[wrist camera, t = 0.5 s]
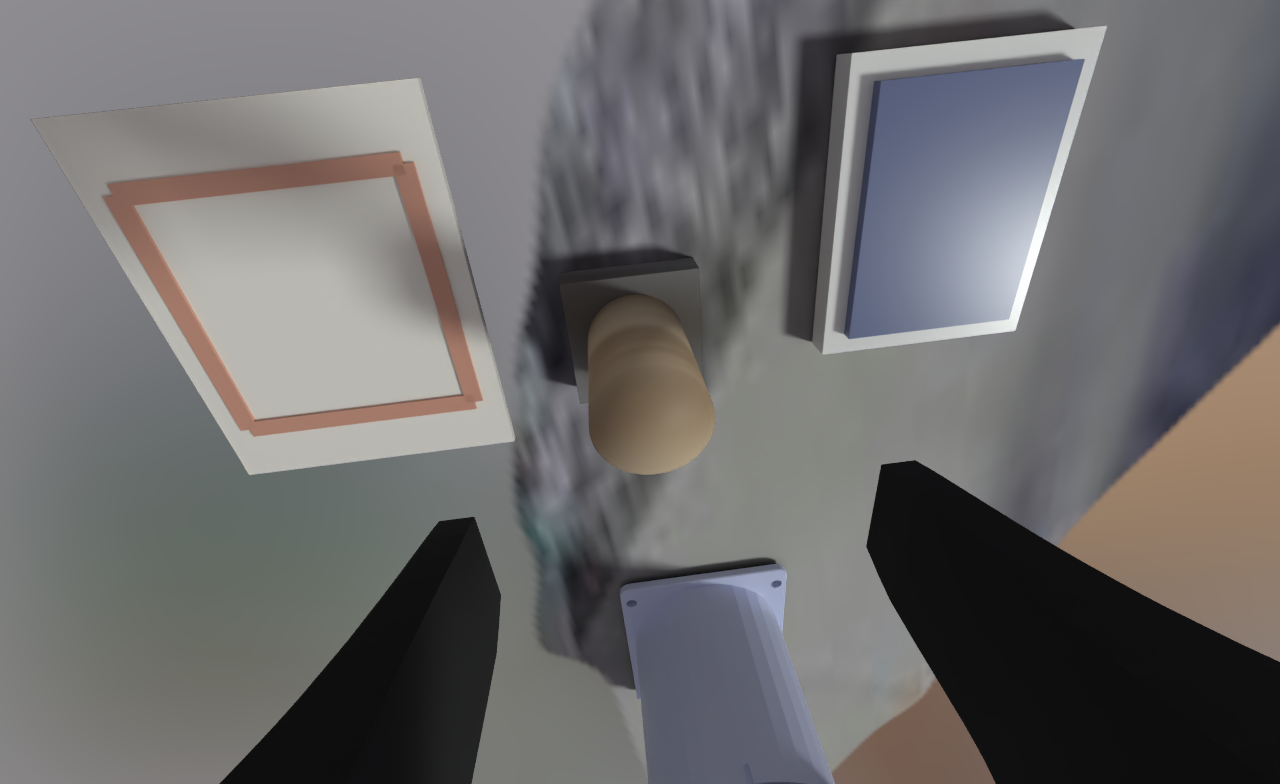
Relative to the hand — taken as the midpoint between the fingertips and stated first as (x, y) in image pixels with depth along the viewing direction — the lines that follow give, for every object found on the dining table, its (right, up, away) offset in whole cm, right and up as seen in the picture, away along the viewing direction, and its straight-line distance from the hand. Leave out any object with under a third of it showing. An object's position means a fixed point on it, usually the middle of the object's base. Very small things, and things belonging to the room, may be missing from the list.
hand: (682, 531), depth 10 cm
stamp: (-1, +5, +9) cm, 10 cm away
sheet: (-11, +5, +8) cm, 15 cm away
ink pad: (+9, +9, +8) cm, 14 cm away
